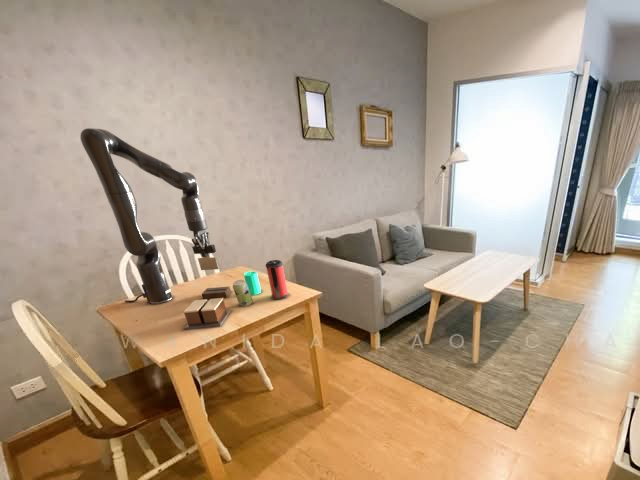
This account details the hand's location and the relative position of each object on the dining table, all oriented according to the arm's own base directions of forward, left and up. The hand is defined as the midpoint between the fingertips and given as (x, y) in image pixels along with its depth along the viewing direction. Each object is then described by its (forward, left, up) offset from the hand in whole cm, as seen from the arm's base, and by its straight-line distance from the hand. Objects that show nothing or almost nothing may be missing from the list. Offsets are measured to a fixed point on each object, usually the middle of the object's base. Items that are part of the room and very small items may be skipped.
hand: (206, 255), depth 157 cm
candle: (+18, 0, -21) cm, 28 cm away
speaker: (+32, -8, -21) cm, 39 cm away
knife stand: (0, 0, -21) cm, 21 cm away
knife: (0, 0, -7) cm, 7 cm away
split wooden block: (+5, -27, -21) cm, 35 cm away
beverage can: (+17, -14, -21) cm, 31 cm away
